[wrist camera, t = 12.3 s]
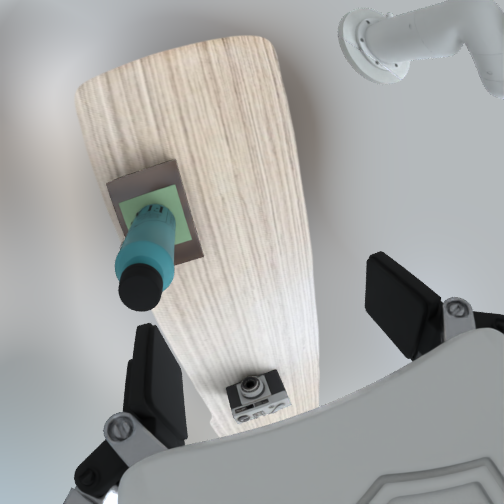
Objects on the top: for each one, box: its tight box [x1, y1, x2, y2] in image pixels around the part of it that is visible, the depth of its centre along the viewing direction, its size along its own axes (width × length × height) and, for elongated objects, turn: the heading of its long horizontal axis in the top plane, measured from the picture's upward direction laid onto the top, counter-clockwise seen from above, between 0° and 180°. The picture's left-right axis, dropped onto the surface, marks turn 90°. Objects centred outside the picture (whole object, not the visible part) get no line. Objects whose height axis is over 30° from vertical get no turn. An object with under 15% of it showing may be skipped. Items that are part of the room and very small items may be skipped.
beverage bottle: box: [115, 203, 176, 311], centre depth 31 cm, size 6×7×20 cm
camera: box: [226, 370, 291, 424], centre depth 60 cm, size 14×8×10 cm, turn 107°
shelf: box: [106, 159, 204, 266], centre depth 41 cm, size 16×11×4 cm
